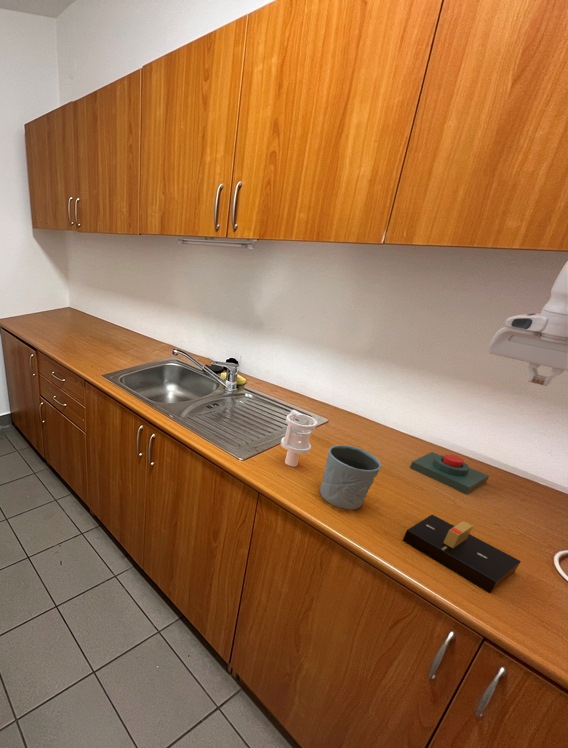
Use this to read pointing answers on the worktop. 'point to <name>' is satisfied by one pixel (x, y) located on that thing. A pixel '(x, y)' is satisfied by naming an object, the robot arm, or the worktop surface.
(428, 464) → the switch box
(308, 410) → the worktop surface
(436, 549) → the lock plate
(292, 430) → the strainer
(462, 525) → the lock knob
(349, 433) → the worktop surface
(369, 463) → the grey plant pot
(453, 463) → the button
